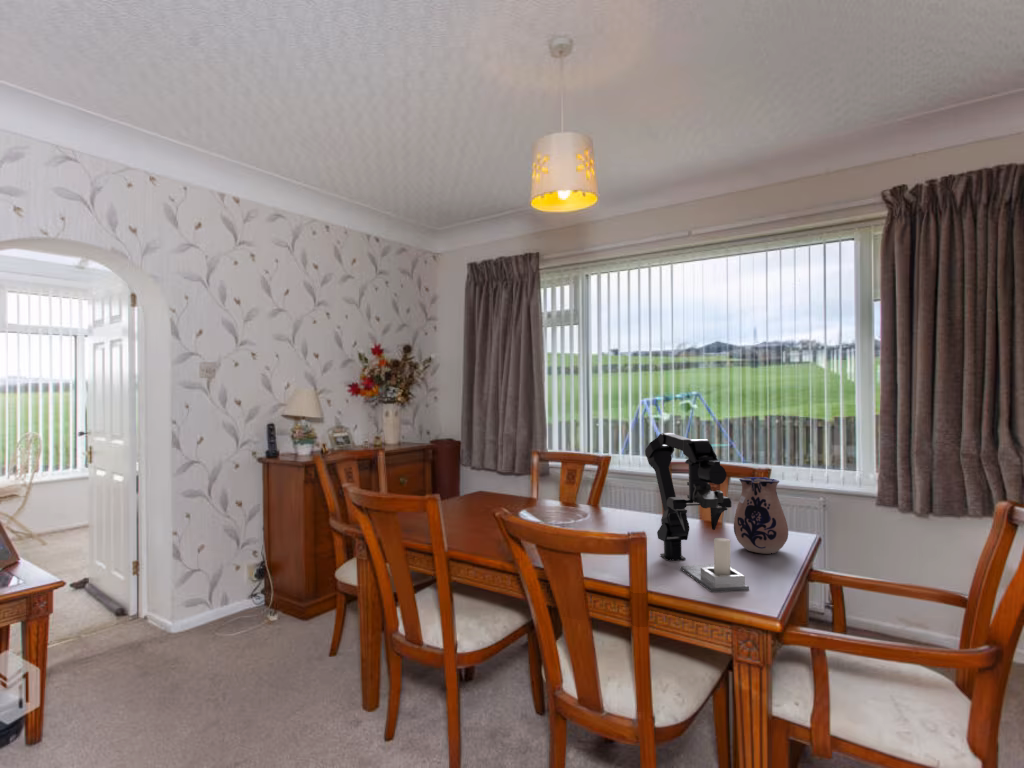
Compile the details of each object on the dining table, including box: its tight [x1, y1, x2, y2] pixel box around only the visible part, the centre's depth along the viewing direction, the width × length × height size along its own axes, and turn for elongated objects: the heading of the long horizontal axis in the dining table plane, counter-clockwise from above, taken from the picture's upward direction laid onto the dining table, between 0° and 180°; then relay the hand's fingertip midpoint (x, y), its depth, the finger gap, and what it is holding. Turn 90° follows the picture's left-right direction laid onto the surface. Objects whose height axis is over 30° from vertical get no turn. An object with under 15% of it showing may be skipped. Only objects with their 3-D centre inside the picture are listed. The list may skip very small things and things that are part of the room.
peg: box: [713, 537, 731, 576], centre depth 158 cm, size 4×4×12 cm
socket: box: [680, 563, 750, 593], centre depth 164 cm, size 20×11×4 cm, turn 7°
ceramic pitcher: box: [733, 476, 789, 555], centre depth 195 cm, size 18×21×25 cm
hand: (699, 530), depth 170 cm, fingers open, 9 cm apart
